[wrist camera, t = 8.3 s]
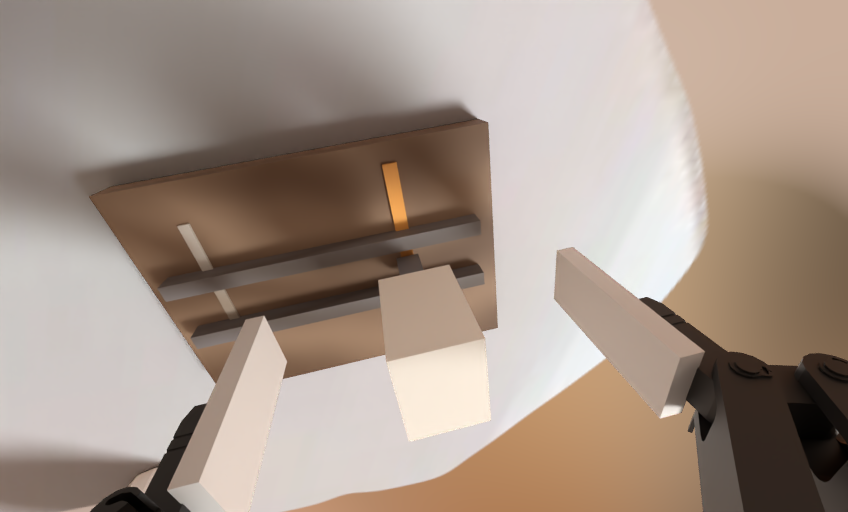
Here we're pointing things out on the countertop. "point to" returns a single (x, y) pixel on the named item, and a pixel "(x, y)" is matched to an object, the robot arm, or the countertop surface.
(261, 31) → the countertop surface
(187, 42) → the countertop surface
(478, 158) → the board
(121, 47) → the countertop surface
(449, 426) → the block
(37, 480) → the countertop surface
